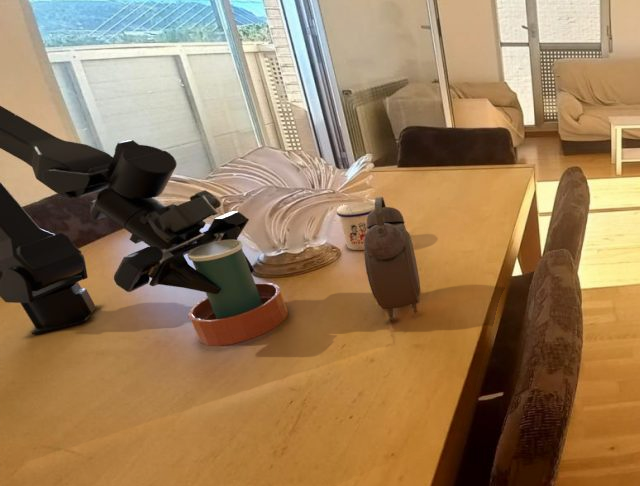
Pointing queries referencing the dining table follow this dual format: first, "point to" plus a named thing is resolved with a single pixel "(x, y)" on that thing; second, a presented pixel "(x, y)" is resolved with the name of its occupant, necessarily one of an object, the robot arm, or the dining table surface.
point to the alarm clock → (390, 259)
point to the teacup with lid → (355, 223)
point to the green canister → (227, 277)
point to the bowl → (239, 319)
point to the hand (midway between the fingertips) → (236, 281)
